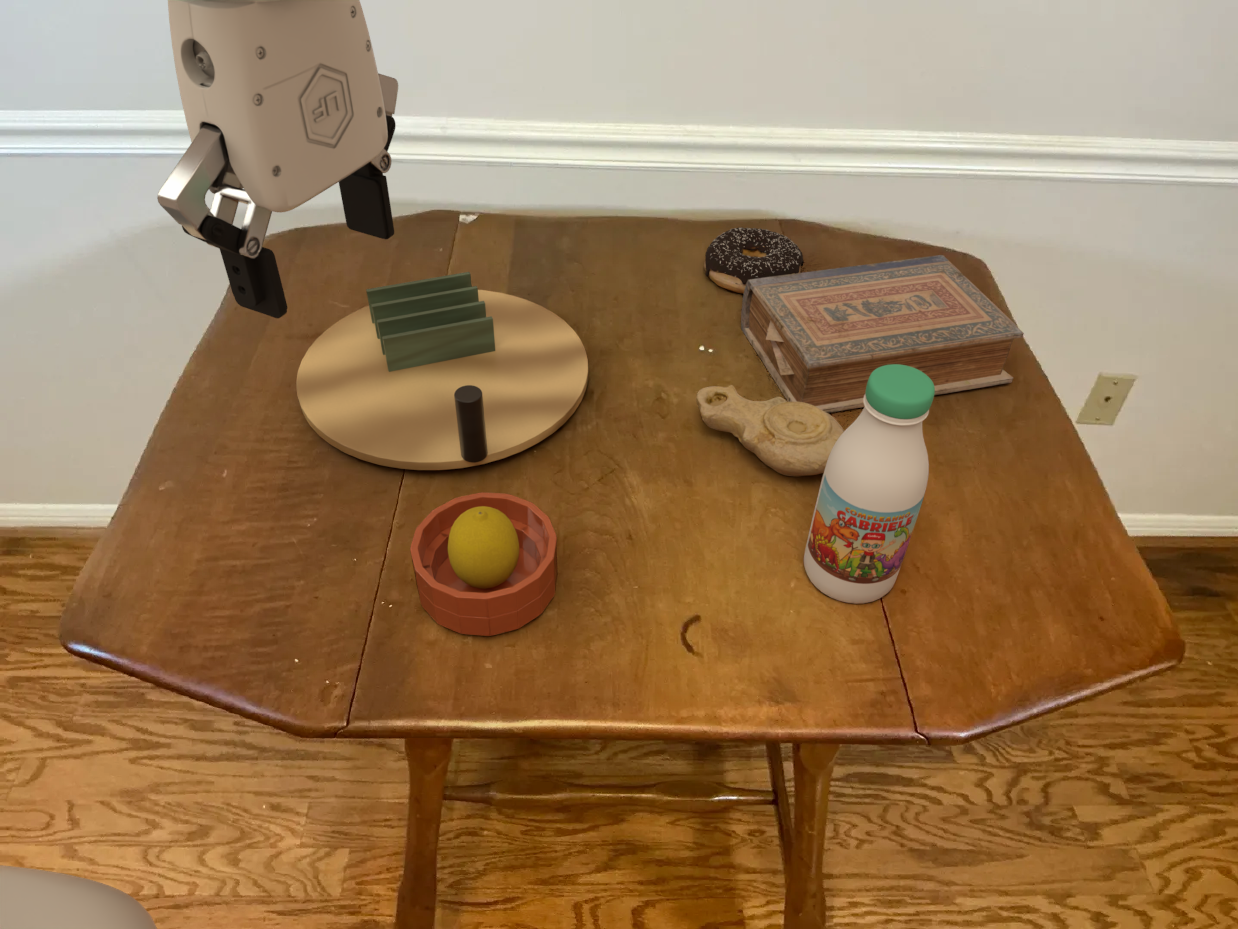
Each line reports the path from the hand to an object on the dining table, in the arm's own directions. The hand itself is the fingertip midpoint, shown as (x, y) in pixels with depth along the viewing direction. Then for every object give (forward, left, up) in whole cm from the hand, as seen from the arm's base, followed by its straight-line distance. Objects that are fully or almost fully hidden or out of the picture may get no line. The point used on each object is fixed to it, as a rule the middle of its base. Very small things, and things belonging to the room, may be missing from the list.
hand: (320, 268), depth 55 cm
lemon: (+5, -6, -30) cm, 31 cm away
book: (+51, -25, -31) cm, 64 cm away
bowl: (+5, -6, -30) cm, 31 cm away
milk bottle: (+20, -32, -31) cm, 49 cm away
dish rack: (+26, +12, -29) cm, 41 cm away
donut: (+61, -8, -31) cm, 69 cm away
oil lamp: (+31, -21, -31) cm, 48 cm away
